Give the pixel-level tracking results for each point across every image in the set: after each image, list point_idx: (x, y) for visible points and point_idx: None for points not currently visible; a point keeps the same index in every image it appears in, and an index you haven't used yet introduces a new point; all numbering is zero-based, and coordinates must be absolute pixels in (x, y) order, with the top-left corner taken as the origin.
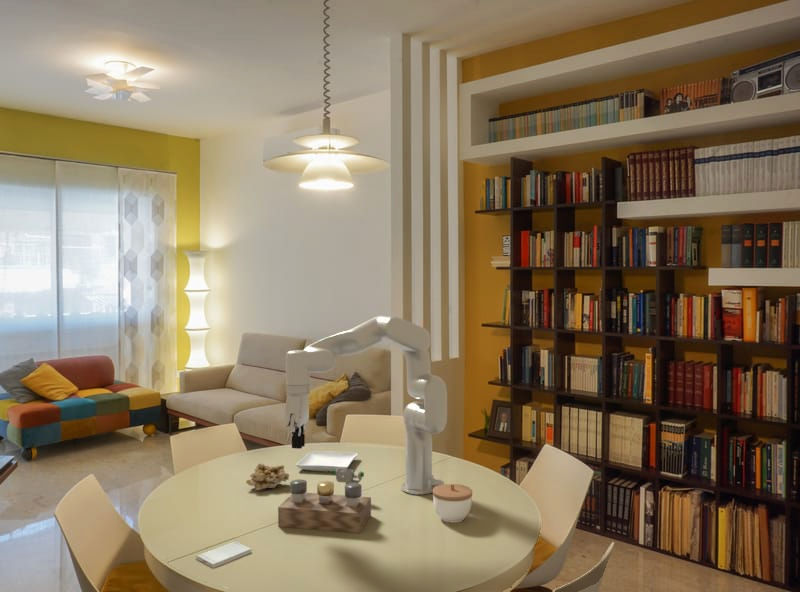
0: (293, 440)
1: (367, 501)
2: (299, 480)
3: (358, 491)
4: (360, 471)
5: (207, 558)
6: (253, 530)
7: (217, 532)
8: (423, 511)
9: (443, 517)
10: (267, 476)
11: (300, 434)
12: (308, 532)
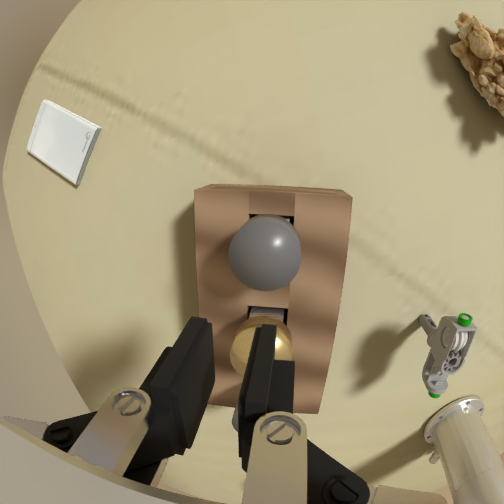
0: (151, 372)
1: None
2: (286, 256)
3: None
4: (441, 392)
5: (36, 127)
6: (174, 129)
7: (151, 54)
8: (342, 446)
9: None
10: (494, 66)
11: (165, 458)
12: (193, 273)
